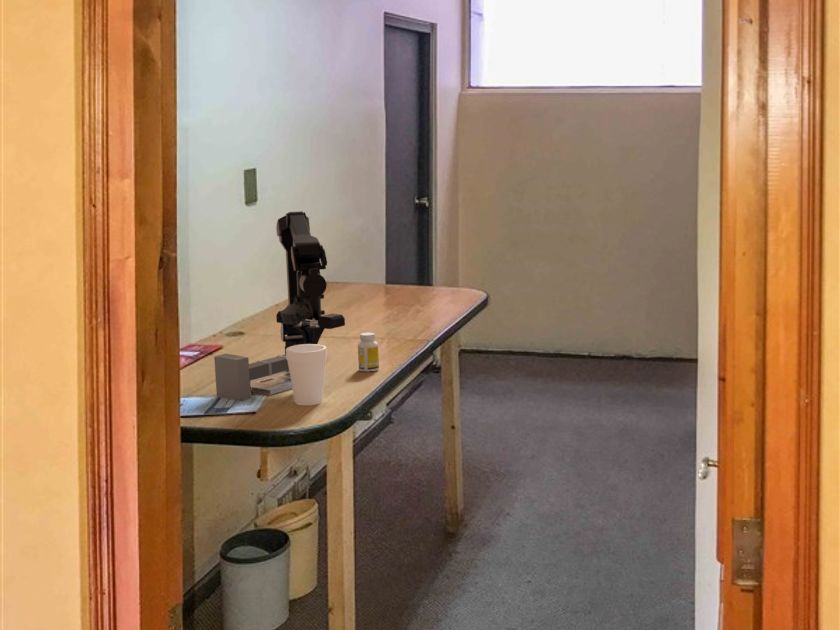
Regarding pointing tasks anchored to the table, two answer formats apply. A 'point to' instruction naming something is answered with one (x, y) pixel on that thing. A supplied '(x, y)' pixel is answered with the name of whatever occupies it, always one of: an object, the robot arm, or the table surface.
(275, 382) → the panel
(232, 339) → the table surface
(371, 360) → the supplement bottle
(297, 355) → the foam cup
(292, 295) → the robot arm
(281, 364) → the bar
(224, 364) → the post
